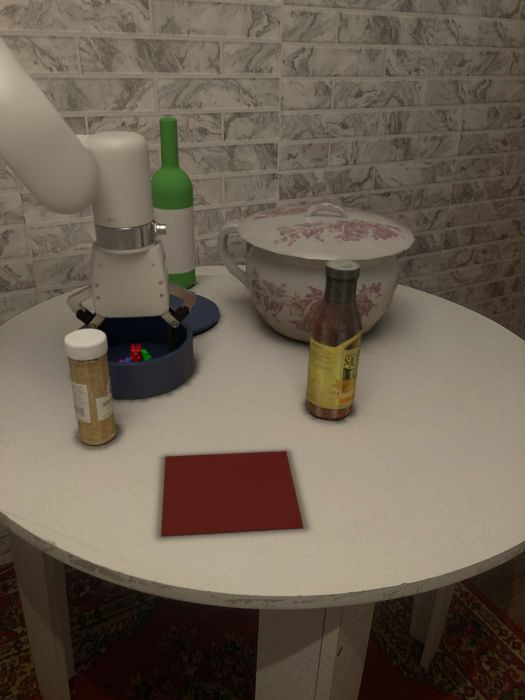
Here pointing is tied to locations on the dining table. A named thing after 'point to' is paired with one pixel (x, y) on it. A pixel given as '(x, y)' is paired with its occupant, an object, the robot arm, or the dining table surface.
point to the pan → (162, 366)
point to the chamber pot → (315, 261)
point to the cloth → (228, 494)
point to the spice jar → (91, 385)
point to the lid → (198, 312)
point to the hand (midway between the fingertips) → (137, 349)
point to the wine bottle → (174, 208)
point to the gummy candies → (137, 354)
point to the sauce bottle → (335, 344)
